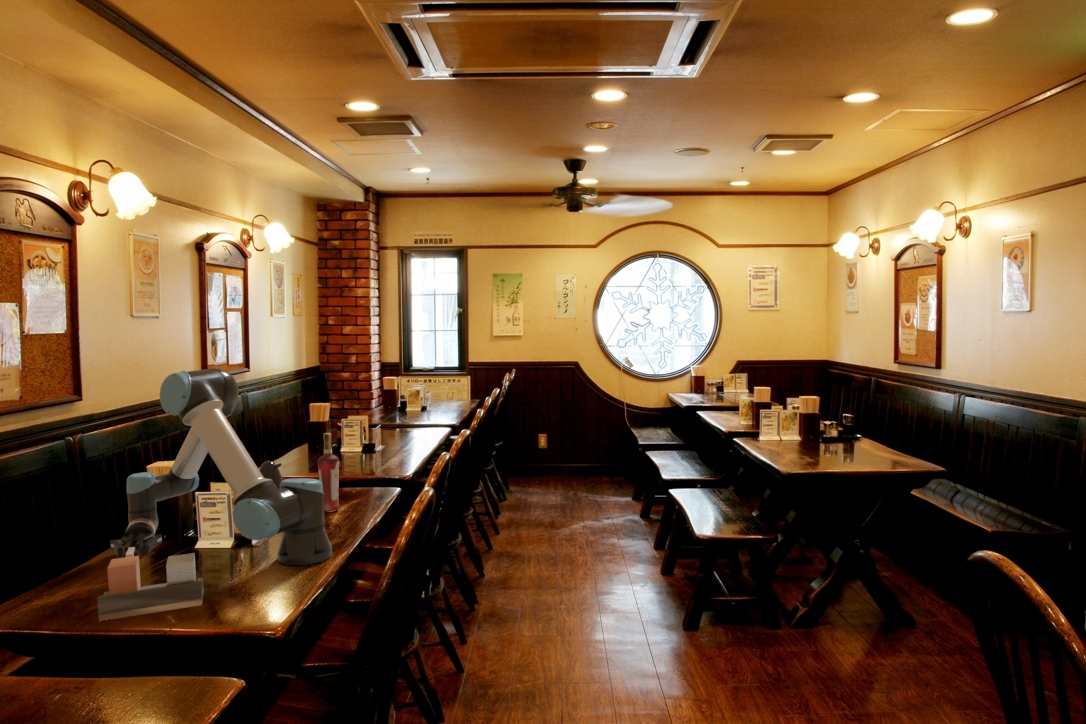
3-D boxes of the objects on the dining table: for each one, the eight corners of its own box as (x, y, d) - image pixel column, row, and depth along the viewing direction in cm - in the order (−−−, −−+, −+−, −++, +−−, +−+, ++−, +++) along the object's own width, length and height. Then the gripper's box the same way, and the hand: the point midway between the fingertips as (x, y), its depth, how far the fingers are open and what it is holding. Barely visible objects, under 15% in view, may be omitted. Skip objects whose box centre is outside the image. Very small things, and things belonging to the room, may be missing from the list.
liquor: (323, 508, 268) (320, 431, 266) (343, 507, 268) (340, 431, 266) (316, 513, 261) (313, 435, 259) (337, 513, 261) (334, 435, 259)
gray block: (170, 591, 187) (168, 556, 186) (196, 587, 189) (194, 552, 189) (168, 601, 180) (166, 565, 180) (195, 596, 183) (193, 561, 182)
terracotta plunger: (113, 594, 186) (111, 559, 185) (140, 590, 188) (138, 555, 187) (109, 604, 179) (107, 568, 178) (137, 600, 181) (135, 564, 181)
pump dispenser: (275, 504, 275) (273, 464, 274) (250, 503, 277) (248, 463, 276) (290, 497, 285) (288, 458, 284) (265, 496, 287) (263, 457, 286)
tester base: (105, 605, 182) (104, 584, 182) (203, 590, 191) (202, 570, 190) (99, 621, 173) (97, 598, 173) (202, 604, 182) (200, 583, 181)
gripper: (165, 543, 217) (158, 569, 195) (114, 550, 212) (101, 577, 190) (164, 518, 216) (156, 541, 194) (113, 524, 211) (99, 549, 189)
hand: (129, 559), depth 192 cm, fingers closed
